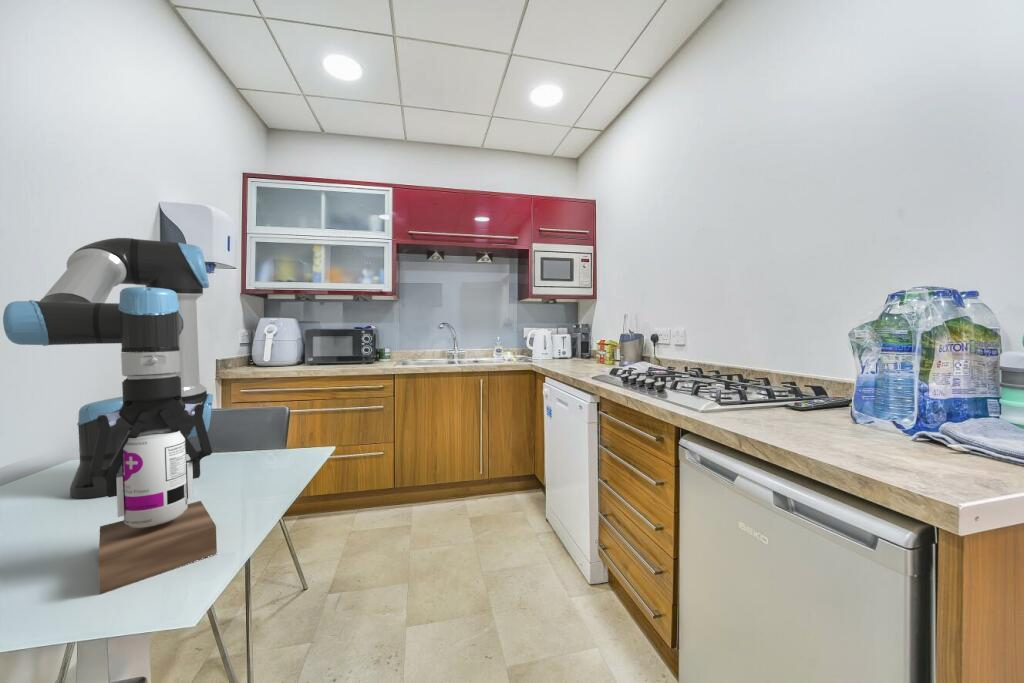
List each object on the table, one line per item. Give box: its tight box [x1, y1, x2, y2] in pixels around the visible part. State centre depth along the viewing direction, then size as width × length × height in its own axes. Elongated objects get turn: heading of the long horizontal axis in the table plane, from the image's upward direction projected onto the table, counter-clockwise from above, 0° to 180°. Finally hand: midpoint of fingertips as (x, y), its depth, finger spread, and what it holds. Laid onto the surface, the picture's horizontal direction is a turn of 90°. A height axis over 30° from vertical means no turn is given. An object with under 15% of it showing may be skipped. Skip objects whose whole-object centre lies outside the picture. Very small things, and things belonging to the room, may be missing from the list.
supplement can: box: [122, 429, 189, 528], centre depth 68 cm, size 8×8×15 cm
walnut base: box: [98, 500, 218, 595], centre depth 68 cm, size 16×14×5 cm
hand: (156, 504), depth 68 cm, fingers closed on supplement can, 8 cm apart
